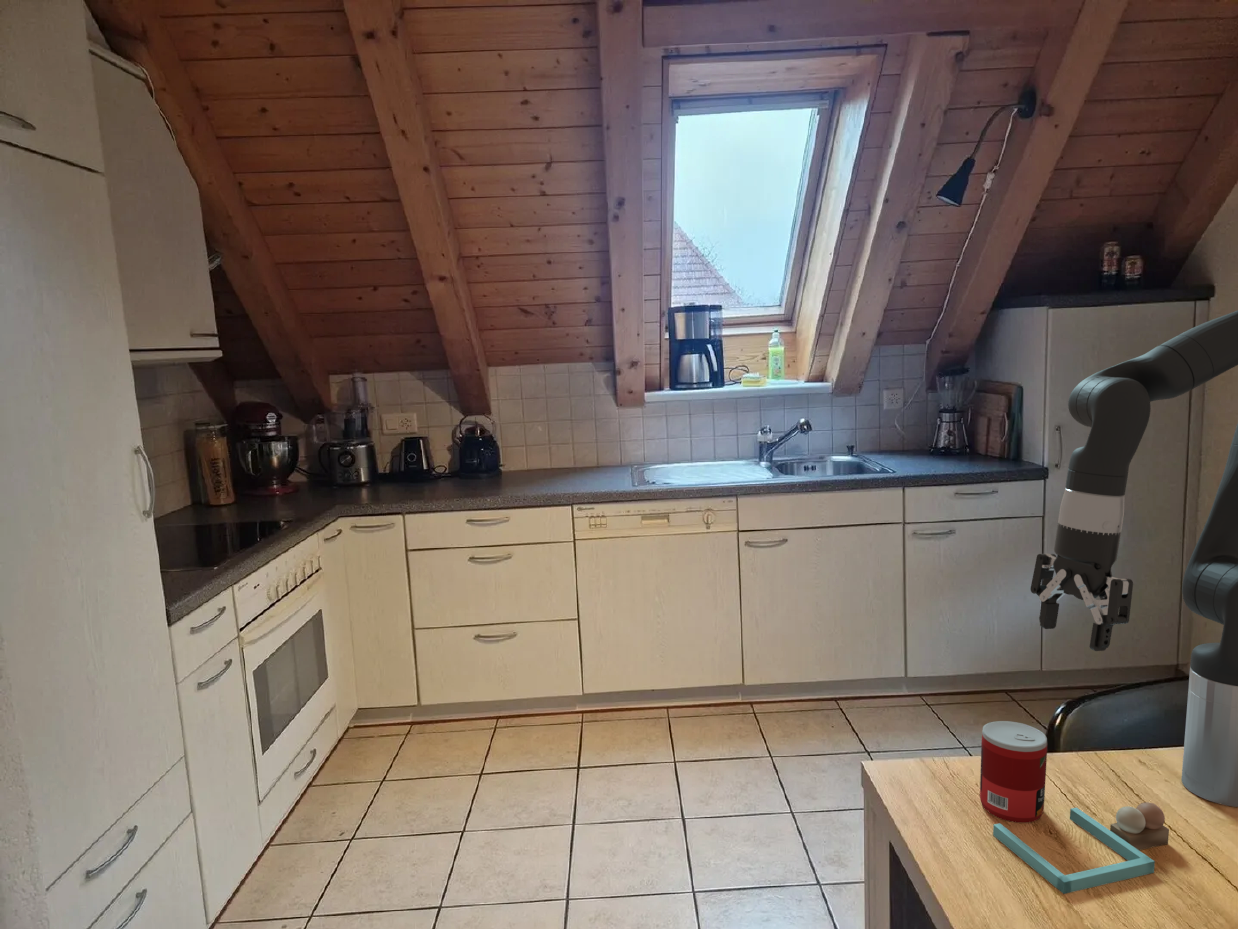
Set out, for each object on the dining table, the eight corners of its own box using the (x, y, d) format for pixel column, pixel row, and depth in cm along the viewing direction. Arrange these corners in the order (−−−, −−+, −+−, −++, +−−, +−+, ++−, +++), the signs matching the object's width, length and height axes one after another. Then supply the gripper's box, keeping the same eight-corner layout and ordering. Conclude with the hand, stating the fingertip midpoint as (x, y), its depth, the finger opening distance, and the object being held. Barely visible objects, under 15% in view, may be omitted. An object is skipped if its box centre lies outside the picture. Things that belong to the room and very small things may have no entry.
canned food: (1051, 827, 109) (1055, 749, 107) (986, 822, 110) (989, 745, 109) (1034, 795, 116) (1037, 722, 115) (973, 791, 118) (976, 718, 116)
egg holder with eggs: (1147, 829, 107) (1149, 795, 107) (1169, 844, 104) (1171, 809, 104) (1108, 838, 106) (1110, 803, 105) (1129, 853, 103) (1131, 817, 102)
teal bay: (1076, 817, 111) (1076, 807, 110) (1154, 872, 99) (1154, 861, 99) (993, 835, 107) (993, 824, 107) (1063, 894, 96) (1064, 882, 96)
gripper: (1158, 537, 106) (1137, 657, 108) (1068, 513, 120) (1052, 620, 122) (1113, 537, 104) (1093, 659, 106) (1027, 512, 117) (1011, 622, 120)
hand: (1071, 638), depth 114 cm, fingers open, 8 cm apart
